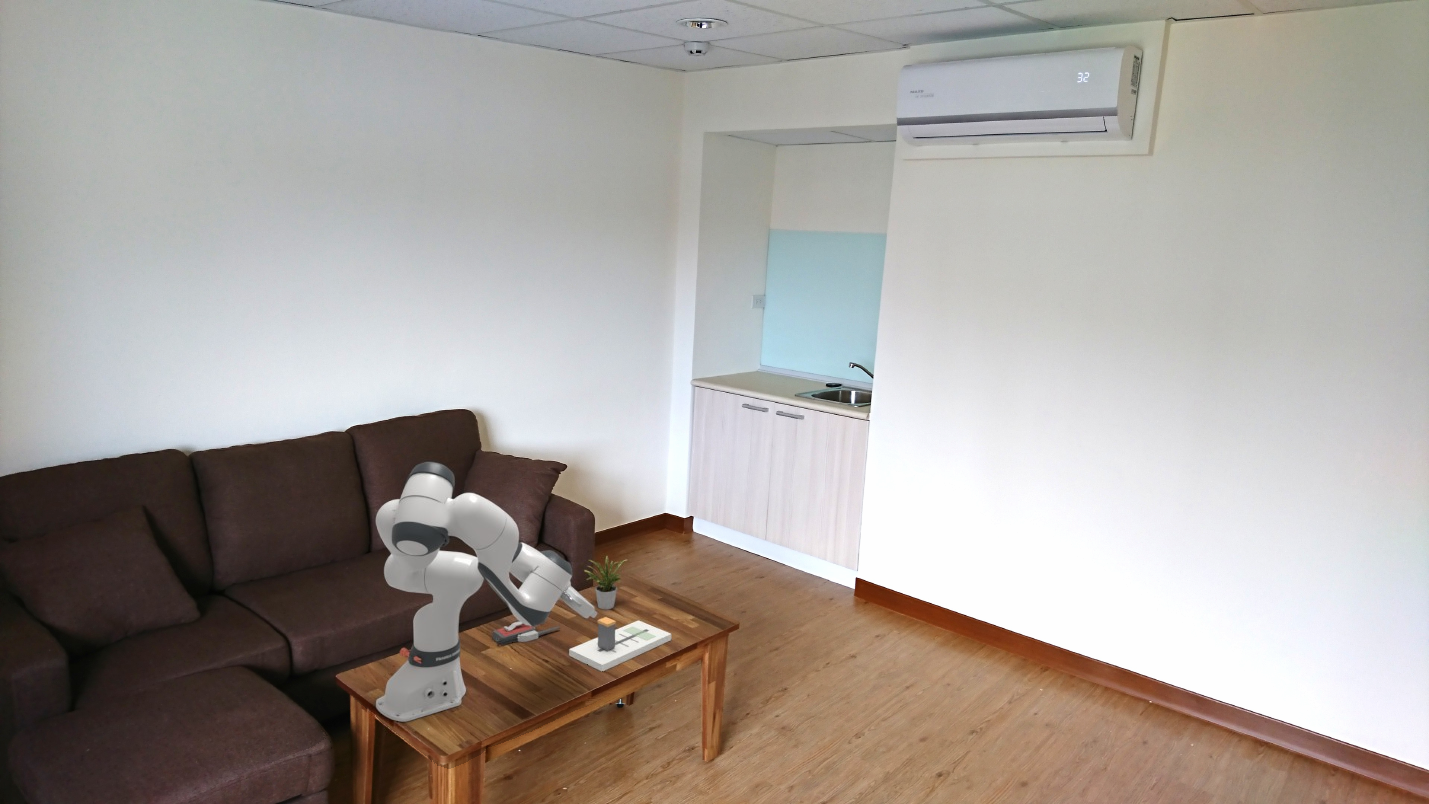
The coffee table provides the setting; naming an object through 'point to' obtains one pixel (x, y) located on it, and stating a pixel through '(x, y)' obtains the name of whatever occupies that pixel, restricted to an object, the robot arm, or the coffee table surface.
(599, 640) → the fader knob
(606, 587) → the house plant
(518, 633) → the red and grey tool
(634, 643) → the console
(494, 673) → the coffee table surface
